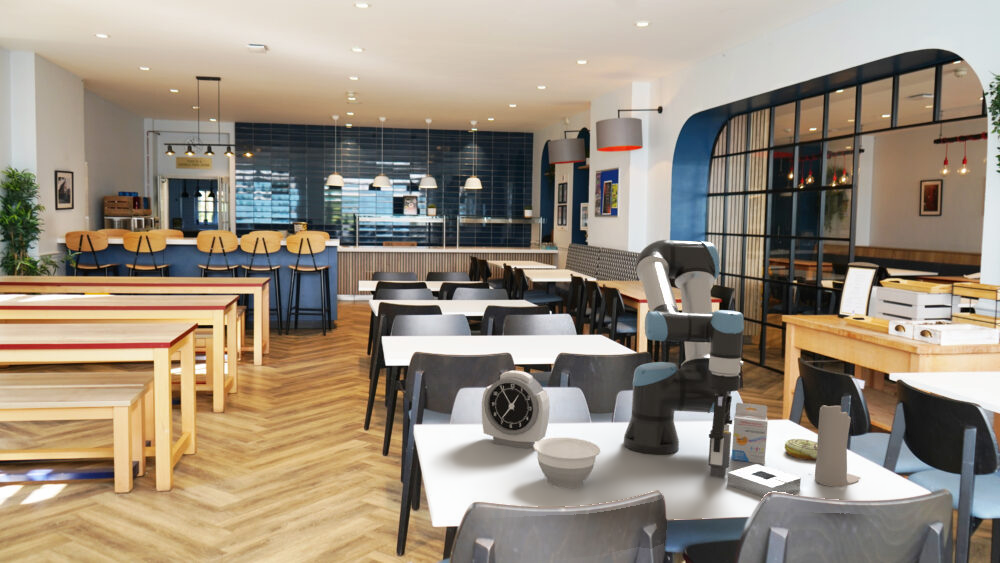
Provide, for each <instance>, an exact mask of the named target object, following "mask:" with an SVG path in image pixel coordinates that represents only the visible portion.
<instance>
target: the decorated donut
mask: <svg viewBox="0 0 1000 563" xmlns="http://www.w3.org/2000/svg"><path fill="white" fill-rule="evenodd" d="M784 450H785V452H786V453H787V454H788V455H789V456H790V457H794V458H796V459H801V460H811V461H816V458H817V442H816V441H812V440H809V439H802V438H792V439H788V440H786V441H785V444H784Z"/></svg>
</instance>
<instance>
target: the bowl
mask: <svg viewBox="0 0 1000 563" xmlns="http://www.w3.org/2000/svg"><path fill="white" fill-rule="evenodd" d="M532 448H533V449H534V450H535V451H536V452H537V462H538V465H539V468H540V469H541V472H542V474H543V476H544V477H545V478H546V481H547V484H548V485H551V486H552V487H556V488H559V489H576V488H580V487H582V486H583V485H584V483H585V482H584V481H586V479H587V478H588V477H589V476H590V474H591V472H592V470H593V469H594V466H595V463H596V459H597V458H596V456H598V455H599V454H600V453H601V448H600V447H599V446H598V445H597V444H595V443H593V442H591V441H588V440H584V439H579V438H572V437H549V438H542V439H541V440H540V441H537V442H535V444H534V445H533V447H532Z"/></svg>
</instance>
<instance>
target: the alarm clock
mask: <svg viewBox="0 0 1000 563" xmlns="http://www.w3.org/2000/svg"><path fill="white" fill-rule="evenodd" d="M499 377H500V378H499V380H497V381H496V382H494V383H492V384H490V385H489V386H486V388H485V390H484V391H483V394H482V397H481V399H482V400H481V422H482V423H481V424H482V429H483V434H485V435H486V436H487V435H488V436H491V437H492V438H493V439H492V444H496V445H503V446H508V447H515V448H523V449H527V450H528V449H530V448H531V447H532V446H533V447H534V444H535V443H536V442H537V441H540V440H543V439H545V437H546V433H547V429H548V427H549V426H548V424H549V418H550V397H549V395H548V391H547V389H545V390H544V389H543V387H542V385H541V383H540V382H539V381H538V380H536V379H535V378H534V377H533V375H531V374H530V373H528V372H526V371H522V370H521V371H520V370H509V371H505V372H503V373H500V376H499Z"/></svg>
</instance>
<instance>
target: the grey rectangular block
mask: <svg viewBox="0 0 1000 563" xmlns="http://www.w3.org/2000/svg"><path fill="white" fill-rule="evenodd" d="M715 433H719V432H715ZM709 434H712V429H711V430H710V432H709ZM723 438H724V442H723V458H722V465H715V464H710V460H711V444H712V438H709V448H708V450H709V452H708V463H707V464H708V466H710V473H709V474H710V477H715V478H721V479H725V478H726V474H727V469H729V468H730V458H731V457H730V455H731V441H732V432H730V430H729V431H726V430H724V433H723Z"/></svg>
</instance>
